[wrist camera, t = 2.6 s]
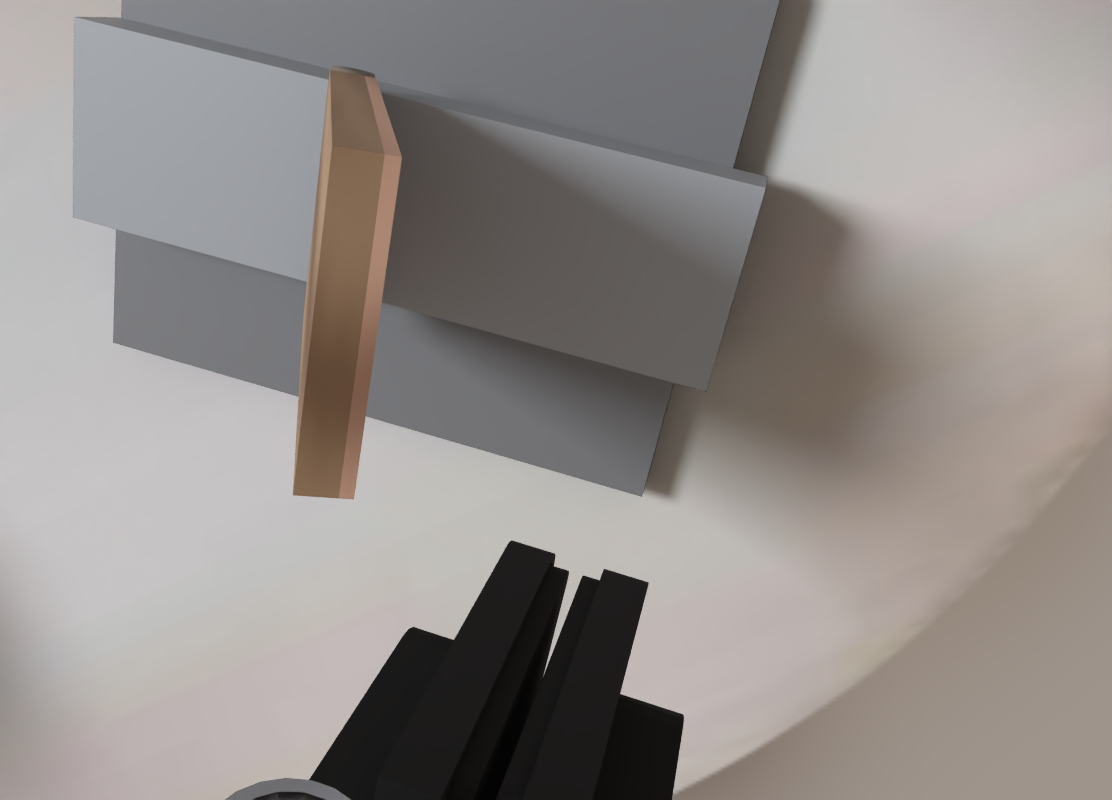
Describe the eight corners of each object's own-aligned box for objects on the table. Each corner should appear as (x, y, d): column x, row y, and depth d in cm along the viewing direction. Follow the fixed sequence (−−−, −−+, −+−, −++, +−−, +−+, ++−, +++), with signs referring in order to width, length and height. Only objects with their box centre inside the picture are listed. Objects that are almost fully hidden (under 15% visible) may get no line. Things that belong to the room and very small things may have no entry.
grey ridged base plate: (146, -157, 29) (75, -178, 26) (820, -9, 27) (824, -13, 24) (130, 334, 35) (71, 361, 32) (674, 492, 33) (663, 536, 30)
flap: (374, 72, 27) (329, 63, 26) (401, 156, 17) (331, 145, 17) (344, 308, 29) (304, 303, 29) (353, 499, 20) (292, 494, 19)
